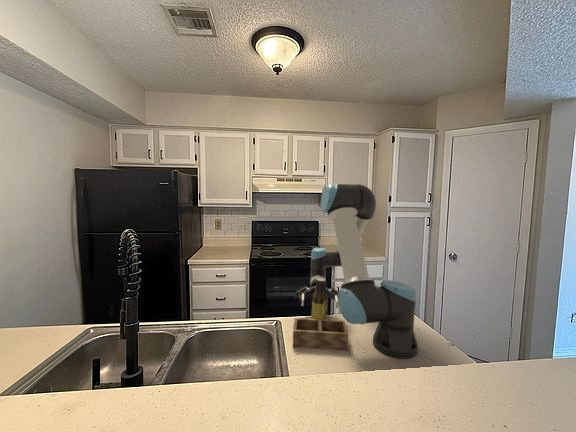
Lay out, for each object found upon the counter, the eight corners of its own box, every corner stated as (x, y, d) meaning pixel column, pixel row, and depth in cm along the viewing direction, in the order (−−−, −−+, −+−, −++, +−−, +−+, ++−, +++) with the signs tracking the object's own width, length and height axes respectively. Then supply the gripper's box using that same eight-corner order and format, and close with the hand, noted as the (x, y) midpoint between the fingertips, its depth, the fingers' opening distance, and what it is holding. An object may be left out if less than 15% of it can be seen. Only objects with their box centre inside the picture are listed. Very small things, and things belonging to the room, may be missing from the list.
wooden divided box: (344, 335, 106) (344, 320, 106) (347, 350, 96) (348, 334, 96) (294, 332, 108) (294, 317, 107) (292, 347, 98) (293, 330, 97)
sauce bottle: (327, 330, 110) (330, 282, 108) (311, 330, 110) (314, 282, 107) (325, 322, 116) (327, 277, 114) (310, 322, 116) (312, 276, 114)
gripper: (344, 294, 129) (351, 315, 108) (291, 292, 131) (288, 311, 110) (345, 279, 128) (352, 296, 107) (292, 276, 130) (288, 293, 109)
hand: (319, 303), depth 109 cm, fingers open, 13 cm apart
